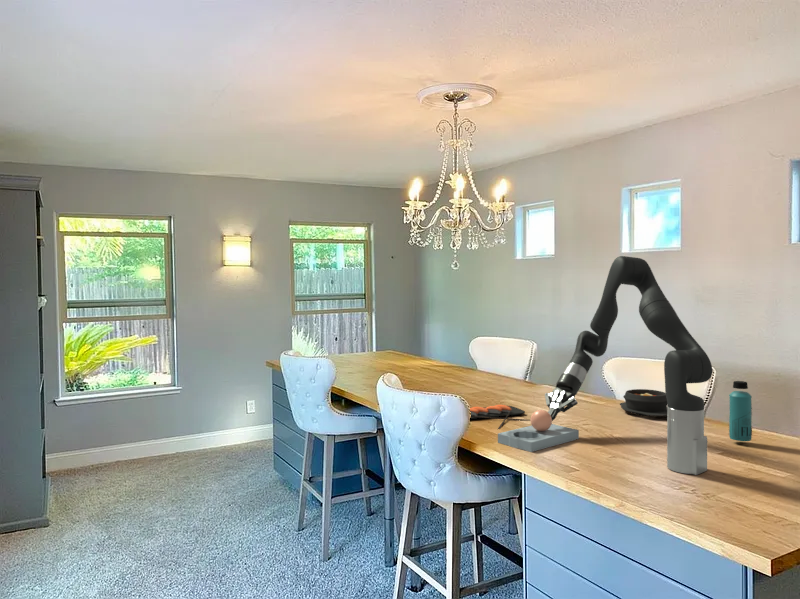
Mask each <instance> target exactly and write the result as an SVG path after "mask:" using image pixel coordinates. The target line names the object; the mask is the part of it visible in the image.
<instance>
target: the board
mask: <svg viewBox="0 0 800 599" xmlns="http://www.w3.org/2000/svg"><path fill="white" fill-rule="evenodd" d="M579 431H580V430H579V429H575V428H572V427H568V426H562V425H557V424H554V423H552V425H551V427H550V428H549V429H548V430H546V431H538V430H536V429H534V428H533V426H532V425H529V426H525V427H520V428H515V429H511V430H507V431H504V432H503V431H502V432H498V433H497V443H498V444H502V445H505V446H509V447H511V448H514V449H520V450H522V451H527V452H530V453H533V452H537V451H540V450H544V449H547V448H551V447H554V446H558V445H561V444H564V443H565V444H566V443H569V442H572V441H573V442H574V441H576V439H577V440H579V438H580V437H579V435H580V433H579Z"/></svg>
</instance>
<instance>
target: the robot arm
mask: <svg viewBox="0 0 800 599" xmlns="http://www.w3.org/2000/svg"><path fill="white" fill-rule="evenodd" d="M622 285H627V286H634V287H636V289H637V290H638V292H640V294H641V298H640V302H639V305H638V313H639V316H640V318H641V319H642V321H643V324H644V325H645V326H646V328H647V329H648V330H649V331H650V332H651V333H652V334H653V335H654V336H656V337H657V338H659V339H660V340H662V341H663V342H665V343H666V344H668V345H669V346H671V347H673V349H675V350H670V351H669V352H668V353H666V355H665V358H664V362H663V363H664V364H663V366H664V367H663V368H664V369H663V371H664V373H663V374H664V387H665V388H664V390H665V391H664V392H665V393H666V398H667V416H666V419H667V420H666V421H667V422H666V429H667V430H666V434H667V435H666V438H667V440H666V442H667V443H666V450H667V451H666V453H667V454H666V455H667V456H666V462H667V463H666V464H667V466H666V467H667V469H669V470H670V471H673V472H676V473H681V474H687V475H688V474H689V475H695V476H697V475H700V474H702V473H705V472H706V471H708V437H707V435H705V400H704V399H703V397H701V396H699V395H694V394H692V393H690V392H689V391H688V388H687V384H701V383H706V382H708V381H710V379H711V378H712V376H713V366H712V362H711V360H710V358H709V356H708V354H707V353H706V351H705V350H704V349H703V348H702V346H701V345H700V344H699V343H698V342H697V341H696V339H695V338H694V337H693V336H692V334H691V333H690V332H689V330H688V329H687V328H686V326H685V324H684V323H683V322H682V320H681V318H680V317H679V315H678V313H677V312H676V311H675V308H674V307H673V306H672V303H670V301H669V300H668V299H667V297H666V295H665V293H664V292H663V290H662V288H661V287H660V286H659V285H660V284H659V283H658V282H657V279H656V277H655V274H654V273H653V270H652V269H651V266H650V265H649V263H648V262H647V261H646V260H645V259H643V258H640V257H634V256H626V255H625V256H624V255H620V256H617V257H616V258H615V259H614V260H613V261H612V263H611V266H610V269H609V271H608V274H607V278H606V280H605V285H604V288H603V291H602V295H601V300H600V302H599V304H598V307H597V309H596V312H595V313H594V315H593V317H592V320H591V321H590V324H589V327H590V329H591V330H592V331H593V332H591V331H589V330H583V331H581V332H580V333H579V334H578V336H577V339H576V345H575V349H574V353H573V355H572V357H571V358H570V360H569V363H567V365H566V367H564V370H563V371H562V372H561V375H560V377H559V378H558V380H557V382H556V385H555V388H554V389H553V390H552V392H550V393H548V392H545V393H544V399H545V403H546V406H547V407H548V409H549V410H548V411H547V412H548V413H549V414H550V415H551V418H552V422H553V421H554V420H555V419H556V418H557V415H559V413H561V412H562V413H565V412H568V411H569V410H570V409H572V408H573V407H575V406H576V405H578V401H577V399H576V395H577V394H578V393H579V391H580V389H581V387H582V385H583V383H584V381H585V380H586V376H587V374H588V373H589V371H590V369H591V367H592V365H593V362H594V361H593V358H592V357H591V356H590V355H589V354H591V355H592V356H594V357H601V356H603V355H604V354H605V353H606V351H607V349H608V341H609V335H610V332H611V329H612V328H613V326H614V325H615V322H616V321H617V317H618V314H619V307H618V301H617V293H618V290H619V288H620V286H622ZM588 353H589V354H588Z"/></svg>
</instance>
